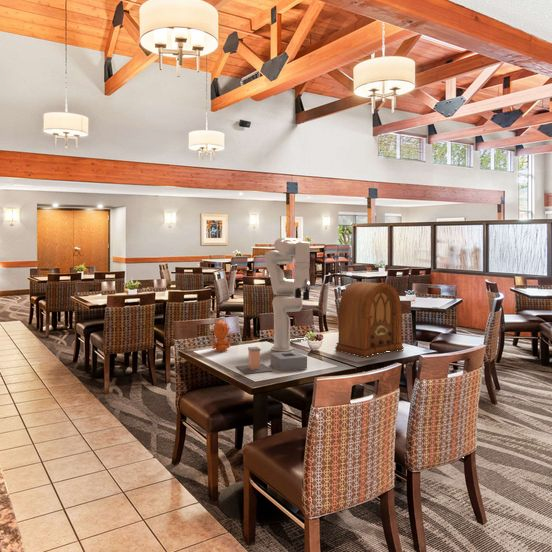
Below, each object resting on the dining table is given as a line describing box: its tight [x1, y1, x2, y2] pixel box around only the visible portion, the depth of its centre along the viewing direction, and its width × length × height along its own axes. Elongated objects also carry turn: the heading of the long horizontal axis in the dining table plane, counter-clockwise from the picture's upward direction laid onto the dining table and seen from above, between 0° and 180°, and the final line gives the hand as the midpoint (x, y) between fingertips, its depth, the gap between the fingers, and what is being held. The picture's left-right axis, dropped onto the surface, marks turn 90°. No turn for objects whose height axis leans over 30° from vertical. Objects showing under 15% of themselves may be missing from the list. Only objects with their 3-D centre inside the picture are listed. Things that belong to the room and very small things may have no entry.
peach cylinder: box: [247, 346, 262, 370], centre depth 235 cm, size 5×5×10 cm
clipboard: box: [263, 333, 305, 343], centre depth 314 cm, size 19×2×30 cm
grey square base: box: [270, 350, 308, 372], centre depth 241 cm, size 14×14×6 cm
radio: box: [334, 281, 405, 358], centre depth 278 cm, size 33×23×40 cm
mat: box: [236, 363, 273, 375], centre depth 235 cm, size 14×14×1 cm
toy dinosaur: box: [211, 319, 232, 352], centre depth 277 cm, size 11×11×18 cm
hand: (302, 298), depth 248 cm, fingers open, 9 cm apart
